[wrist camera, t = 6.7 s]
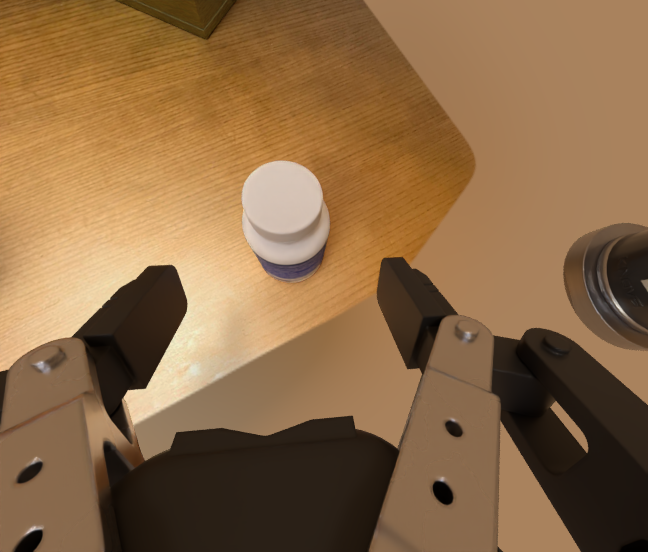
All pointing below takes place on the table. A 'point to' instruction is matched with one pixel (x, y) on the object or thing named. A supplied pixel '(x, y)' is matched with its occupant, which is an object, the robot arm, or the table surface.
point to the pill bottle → (285, 220)
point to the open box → (186, 13)
